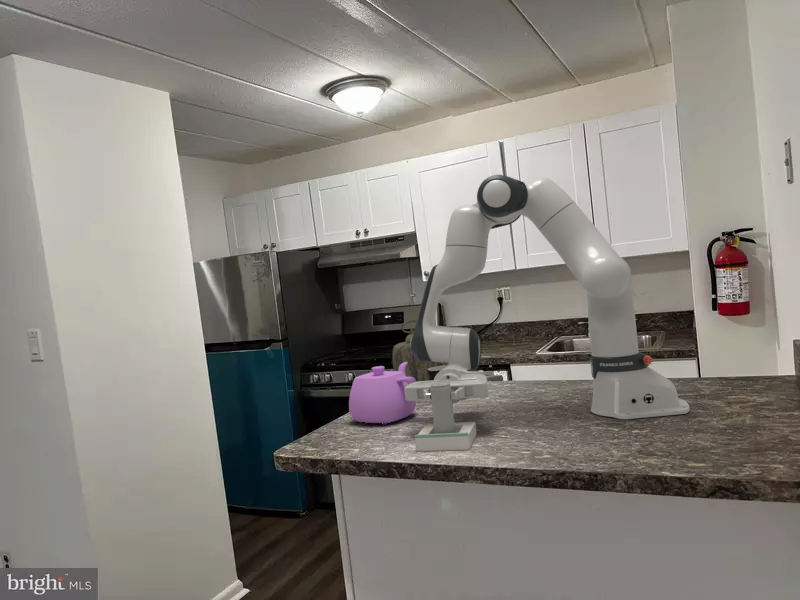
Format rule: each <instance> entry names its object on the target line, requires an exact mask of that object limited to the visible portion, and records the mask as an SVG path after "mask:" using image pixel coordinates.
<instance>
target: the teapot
mask: <svg viewBox="0 0 800 600" xmlns="http://www.w3.org/2000/svg"><path fill="white" fill-rule="evenodd" d="M407 363H408V362H404V363H402V364H401V365H400V366H399V369H398V371H394V370H385V366H383V365H379V366H373V367H371V372H368V373H364V374H361V375H358V376H355V378H353V382H352V386H351V389H350V393H349V398H348V399H349V400H348V409H349V410H348V411H349V415H350V416H351V418H352V419H353V420H354V421H355V422H359V423H362V422H365V423H364V424H369V423H371V424H381V423H383V424H382V425H388V424H387V423H390V424H392V423H393V422H396V421H400V420H402V419H404V418H407V417H409V416H411V415H412V414H413V413H414V411H415V409H416V406H417V405H416V403H417V401H407V400H406V399H405V391H404V388H405V386H407V385H409V384H411V383H413V382H416V379H415V378H414V377H406V375H405V368H406V365H407ZM391 422H392V423H391Z"/></svg>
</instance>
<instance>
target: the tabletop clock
mask: <svg viewBox="0 0 800 600" xmlns="http://www.w3.org/2000/svg"><path fill="white" fill-rule="evenodd" d="M409 323H417V320H416V319H415V320H414V319H412V320H407V321H404V322H403V323H401V327H400V328H401V330H402V332H404V333H406V334H408V335H407V336H406V338H405V341H403V342H399V343H397V344H395V345H393V348H392V366H393V371H398V369H399V366H400V365H401V364H402V363H404V362H408V363H407V365H406V368H405V375H406V377H414V378H415V379H416V382H418V381H430V378H429V374H428V369H429V368H432V367H437V366H440V362H420V361H419V360H418V359H417V358H416V357H415V356H414V355H413V354H412V352H411V349H410V342H411V338H412V335H413V332H414V328H410V330H408V331H407V330H404V326H405V325H406V324H409Z"/></svg>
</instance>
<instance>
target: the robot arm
mask: <svg viewBox="0 0 800 600" xmlns="http://www.w3.org/2000/svg"><path fill="white" fill-rule="evenodd" d="M476 201H477V202H476V203H474V204H471V205H470V204H466V205H465V204H464V205H459V206H458V207H457V208H455V209H454V210H453V211H452V213H451V215H450V218H449V223H448V226H447V231H446V238H445V249H444V253H443V256H442V258H441V260H440V261H439V263H438V264H436V265H433V266H432V268H431V270H430V272H429V274H428V278H427V281H426V283H425V287H424V292H423V294H422V295H423V296H422V300H421V305H420V307H419V312H418V315H417V316H418V317H417V320H416V321H417V322H415V323H416V324H415V326H414V328H413V330H414V332H413V335H412V338H411V342H410V349H411V352H412V354H413V355H414V356H415V357H416V358H417V359H418V360H419V361H420V362H439V363H444V364H446V365H444V366H445V367H444V368H443V369H442V370H441V371H440V372H439V373H438V374H437V375H436V376H435V378H434V380H431V381H418V382H413V383H411V384H409V385H407V386H405V388H404V391H405V399H406V400H407V401H416V402H422V401H424V402H432V401H431V391H430V387H431V384H434V383H440V382H449V383H450V385H451V396H452V397H451V400H452V402H453V404H456V403H458V402H460V401H465V400H468V399H476V398H477V399H479V398H481V399H482V398H488V397H489V395H490V394H489V383H488V378H487V376H486V375H485V371H484V370H482V369H478V368H479V366H480V363H481V357H482V341H481V338H480V336H479V335H478V333H477V331H475V330H474V329H473V328H469V327H459V326H458V327H457V326H443V325H436V324H434V321H435V317H436V314H437V310H438V309H437V308H438V306H439V304H438V303H439V302H440V298H441V295H442V293H443V292H445V290H447V289H449V288H450V287H451V288H452V287H454V286H456V285H459V284H462V283H467V282H469V281H470V280H473V279H475V278H476V277H478V276H479V275H480V274H481V273H483V270H484V269H485V267H486V264H487V263H486V262H487V257H488V244H489V235H490V231H491V230H492V229H497V228H500V227H501V228H502V227H505V226H509V225H512V224H513V223H515V222H516V221H518V219H520V217H522V216H523V217H526V218H527V219H528V220H529V221H531V222H532V224H534V226H535V227H536V228H537V229H538V231H539V232H540V233H541V235H542V236H543V237H544V239H546V241H547V242H548V243H549V244H550V245H551V247H552V248H553V249H554V250H555V251H556V253H557V254H558V255H559V256H560V258H561V259H562V261H563V262H564V264H565V265H566V266H567V268H568V269H569V271H570V272H571V273H572V274H573V276H574V277H575V279H576V281H578V283H579V284H580V285H581V287H582V288H583V289H584V290H585V292H586V296H587V297H586V298H587V299H586V300H587V315H588V333H589V341H590V351H591V355H590V356H589V359H590V360H589V364H590V373H591V376H592V378H593V379H592V380H593V389H592V391H593V393H592V401H591V407H590V412H591V413H592V414H594V415H597V416H603V417H611V418H614V419H615V418H616V419H618V420H633V419H642V418H643V419H644V418H654V417H655V418H656V417H663V416H664V417H666V416H676V415H683V414H684V415H685V414H688V413H689V412H690V410H691V409H690V405H689V403H688V402H687V401H686V400H684V399H682V398H679V396H678V391H677V388H676V386H675V384H674V383H673V382H672V381H671V380H670V379H669V378H667V377H666V376H664V375H662V374H661V373H659V372H658V371H656V370H654V369H653V368H651V367H650V365H652V363H653V360H654V359H653V358H652V357H651V355H648V354H645V353H643V352H641V351H639V342H638V341H639V340H638V332H637V325H636V324H637V323H636V321H637V320H636V313H635V312H636V311H635V301H634V299H635V298H634V292H633V291H634V290H633V280H632V272H631V267H630V266H629V264H628V263H627V261H626V260H625V259H624V258H623V257H621V256H620V255H619V254H618V252H616V250H615V249H614V248H613V247H612V246H611V244H610V243H609V242H608V240H607V239H606V238H605V237H604V235H603V234H602V233H601V231H599V229H598V228H597V227H596V226H595V225H594V223H593V222H592V221H591V220H590V219H589V217H588V216H587V215H586V214H585V213H584V212H583V210H582V209H581V208H580V206H579V205H578V204H577V203H576V202H575V201H574V200H573V199H572V197H571V196H570V195H569V194H568V193H567V192H566V191H565V190H563V189H562V188H561V187H560V186H559V185H558V184H557V183H555V182H554V181H553V180H551V179H550V178H548V177H539V178H536V179H534V180H532V181H530V182H529V183H528V184H526V183H525V182H524V181H521V180H518V179H516V178H514V177H511V176H508V175H504V174H494V175H490V176H488V177H487V178H485V179H484V180H483V181H482V182H481V183H480V185H479V187H478V189H477V192H476Z"/></svg>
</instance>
